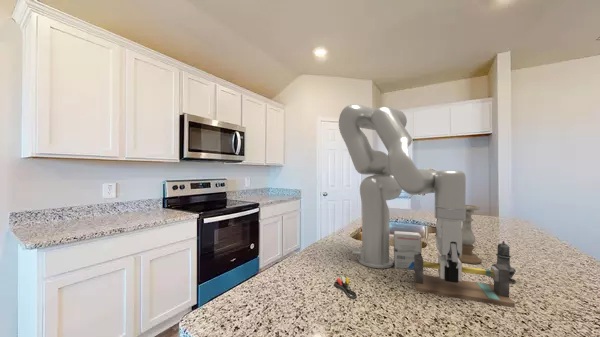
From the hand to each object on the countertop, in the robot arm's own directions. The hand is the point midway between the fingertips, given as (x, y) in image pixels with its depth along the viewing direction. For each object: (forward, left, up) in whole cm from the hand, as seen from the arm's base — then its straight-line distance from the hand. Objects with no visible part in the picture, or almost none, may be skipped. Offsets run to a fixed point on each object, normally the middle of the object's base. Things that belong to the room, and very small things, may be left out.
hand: (449, 276), depth 69 cm
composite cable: (-28, -11, -4) cm, 30 cm away
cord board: (+2, 0, -3) cm, 4 cm away
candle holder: (+11, +28, -4) cm, 30 cm away
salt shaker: (+17, +13, -4) cm, 22 cm away
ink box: (-10, +13, -4) cm, 17 cm away
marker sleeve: (0, 0, 0) cm, 0 cm away
